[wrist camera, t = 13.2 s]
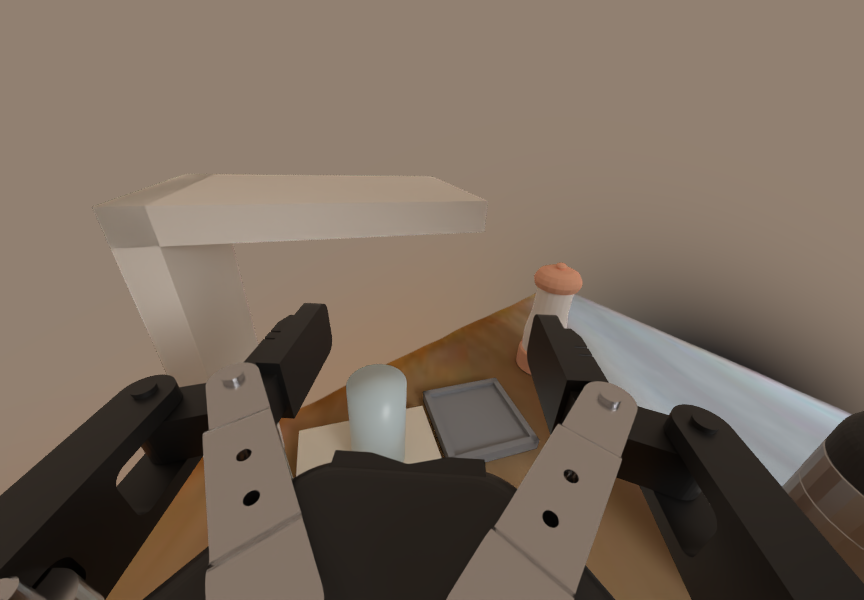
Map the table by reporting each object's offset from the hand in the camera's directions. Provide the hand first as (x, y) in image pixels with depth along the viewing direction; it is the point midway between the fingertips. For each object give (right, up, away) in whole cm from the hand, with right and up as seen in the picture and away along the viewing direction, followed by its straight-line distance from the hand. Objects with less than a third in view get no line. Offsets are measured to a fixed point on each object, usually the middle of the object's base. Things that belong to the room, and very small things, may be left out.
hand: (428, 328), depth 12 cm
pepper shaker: (+19, -11, +44) cm, 49 cm away
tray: (+6, -16, +32) cm, 37 cm away
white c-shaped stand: (-8, -19, +25) cm, 33 cm away
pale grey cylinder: (-6, -17, +25) cm, 31 cm away
